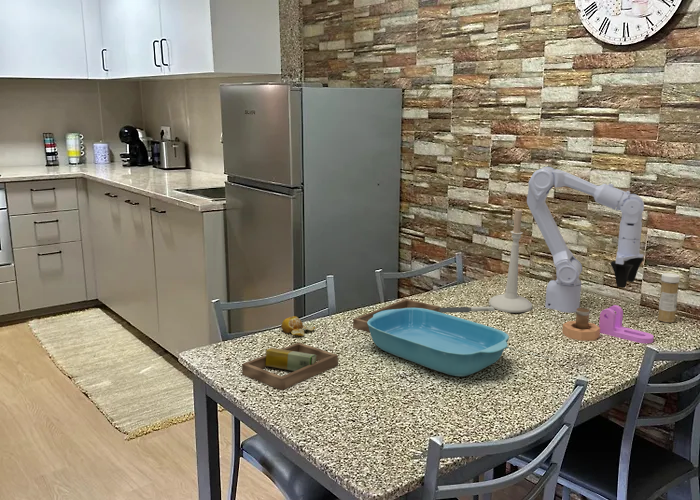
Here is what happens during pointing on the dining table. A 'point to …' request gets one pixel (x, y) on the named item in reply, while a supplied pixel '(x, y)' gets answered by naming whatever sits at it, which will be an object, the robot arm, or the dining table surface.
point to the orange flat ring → (581, 331)
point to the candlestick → (512, 277)
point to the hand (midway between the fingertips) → (625, 284)
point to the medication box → (288, 359)
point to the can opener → (465, 309)
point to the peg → (582, 318)
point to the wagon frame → (362, 320)
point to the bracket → (620, 326)
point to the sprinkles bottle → (668, 297)
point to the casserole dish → (437, 340)
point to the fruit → (294, 326)
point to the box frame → (282, 382)
